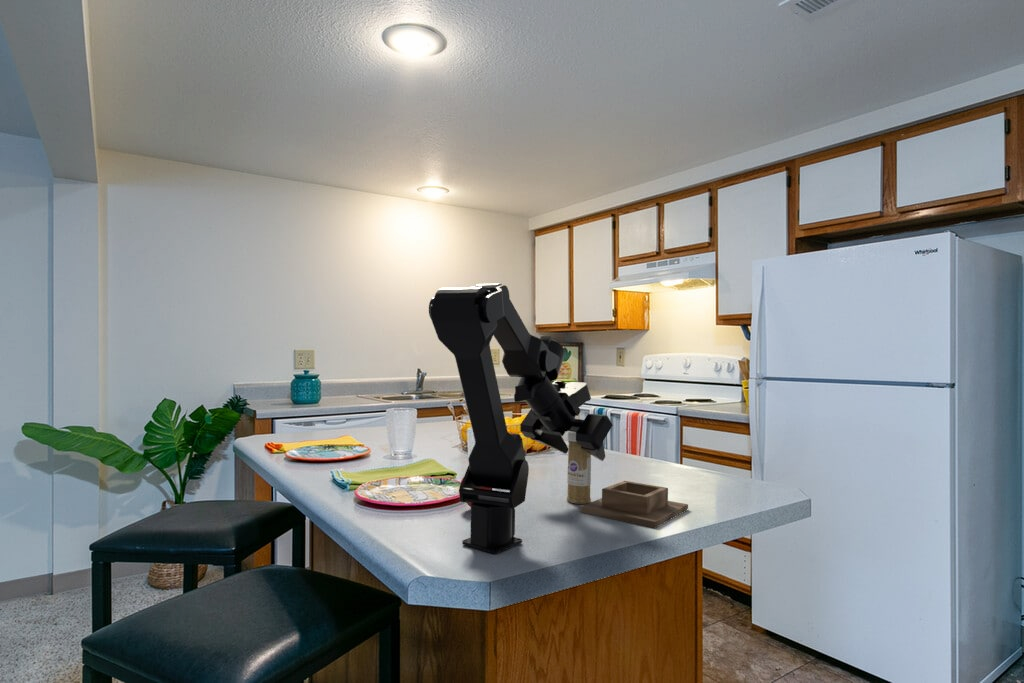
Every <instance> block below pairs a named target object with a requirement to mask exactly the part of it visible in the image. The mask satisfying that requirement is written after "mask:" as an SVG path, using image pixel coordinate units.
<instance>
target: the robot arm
mask: <svg viewBox="0 0 1024 683" xmlns="http://www.w3.org/2000/svg"><path fill="white" fill-rule="evenodd" d="M508 288H509V287H508V286H507V285H503V284H502V283H477V284H475V285H472V286H469V287H441V288H439V289H438V290H436V292H435V294H434V296H432V298H431V299H430V301H429V304H428V315H429V318H430V320H431V323H432V325H433V328H434V330H435V334H436V336H437V339H438V340H439V342H440V343H442V345H444V347H445V348H446V349H448V350H449V352H450V353H451V354H453V356H454V359H455V363H456V367H457V370H458V371H457V372H458V375H459V379H460V385H461V389H462V394H463V396H464V400H465V406H466V409H467V414H468V418H469V421H470V425H471V430H472V433H473V438H474V445H473V448H472V450H471V452H470V454H469V456H468V459H467V460H468V461H467V462H468V466H467V468H466V471H465V473H464V476H463V477H464V478H463V477H462V479H463V481H462V483H461V482H460V483H461V486H460V485H459V487H458V488H459V489H458V495H459V500H460V502H461V503H466V502H470V503H472V504H471V507H470V537H468V538H465V539H463V540H462V545H463V546H466V547H471V548H474V549H477V550H481V551H484V552H488V553H492V554H498V553H501V552H503V551H505V550H507V549H510V548H513V547H515V546H518V545H520V544H522V543H523V539H522V538H520V537H516V536H515V535H516V508H517V507H518V506H520V505H521V504H523V503H525V501H526V495H527V487H528V486H527V485H528V480H529V472H530V471H529V468H530V467H529V462H528V460H526V456H527V455H526V454H527V453H526V452H525V449H524V448H525V447H524V443H523V438H522V436H521V435H520V433H521V434H522V435H523V436H524V437H525V438H528V439H530V440H532V441H535V442H538V443H540V444H542V445H545V446H547V447H548V448H549V447H550V448H551V449H553V450H555V451H558V452H561V453H563V454H565V455H566V454H568V450H569V449H568V448H569V446H568V445H567V444H566V442H565V440H564V438H563V436H564V435H565V433H568V431H572V432H576V441H577V443H578V444H579V445H581V446H582V447H581V449H583V450H584V451H586V452H588V453H589V454H591V456H592V457H594V458H595V459H597V460H599V461H601V462H604V460H605V458H606V452H605V446H604V441H605V439H606V437H607V436H608V434H609V432H610V431H611V429H612V427H613V426H614V424H613V422H612V421H611V419H610V417H609V416H608V414H607V415H605V414H600V413H599V414H598V413H587V415H586V417H585V418H584V419H580V418H579V419H578V418H576V416H579V415H580V413H581V412H582V410H581V409H580V407H582V406H583V405H584V404H585V403H587V402H590V401H591V399H592V397H591V393H590V389H589V387H588V384H587V383H586V382H582V381H581V382H580V381H570V382H567V381H565V382H564V381H562V380H557V379H558V376H559V374H560V371H561V369H562V368H561V367H562V365H563V362H564V358H565V356H566V350H565V349H566V348H564V347H563V346H562V344H560V343H559V342H558V341H555V340H554V339H552V338H553V337H552V336H551V335H541V336H540V337H538V336H535V335H533V334H531V333H530V332H529V331H528V329H527V327H526V325H525V323H524V321H523V320H522V317H520V315H519V313H518V311H517V309H516V308H515V305H514V304H513V302H512V301H511V299H510V290H509V289H508ZM493 337H494V339H495V340H496V342H497V343H498V345H499V346H500V348H501V349H502V351H503V356H502V361H501V362H502V365H503V368H504V370H505V371H506V373H507V375H508V376H509V377H510V378H520V379H519V381H518V383H517V385H515V387H514V389H515V390H514V391H515V392H514V395H513V399H514V402H515V403H520V402H524V401H525V403H526V405H528V406H529V409H530V410H529V411H528V413H527V414H526V415H525V417H524V419H523V420H522V421H521V423H520V424H519V425H520V427H519V428H520V430H519V431H520V433H510V432H509V431H508V428H507V423H506V419H505V414H504V408H503V404H502V399H501V394H500V389H499V384H498V379H497V375H496V371H495V370H496V369H495V365H494V361H493V360H494V359H493V356H492V351H491V346H490V344H491V341H492V338H493ZM552 381H553V382H552ZM479 487H484V488H492V490H486V489H478V488H479ZM493 489H494V490H493Z"/></svg>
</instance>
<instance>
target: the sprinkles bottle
mask: <svg viewBox="0 0 1024 683" xmlns="http://www.w3.org/2000/svg"><path fill="white" fill-rule="evenodd" d="M567 441H568V452H567V454H568V455H567V456H568V457H567V458H568V460H567V475H566V476H567V479H566V480H567V481H566V482H567V497H566V501H567V502H569V503H572V504H575V505H586V504H588V503H591V502H592V501H591V485H592V483H591V482H592V479H591V478H592V455H591V454H589V453H588V452H586V451H584V450H583V449H581V447H582V446H581V445H579V444H578V443H577V441H576V432H572V431H567Z"/></svg>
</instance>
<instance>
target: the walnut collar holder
mask: <svg viewBox="0 0 1024 683" xmlns="http://www.w3.org/2000/svg"><path fill="white" fill-rule="evenodd" d="M687 509H688V510H689V504H688V503H683V502H677V501H671V500H669V487H665V486H658V485H652V484H646V483H640V482H634V481H628V480H623V481H619V482H617V483H615V484H612V485H608V486H607V487H604V488H602V489H601V498H597V499H596V500H593V501H590V502H589V503H586V504H582V505H580V512H581V513H584V514H588V515H594V516H597V517H602V518H606V519H611V520H616V521H621V522H624V521H625V522H626V523H629V522H630V524H635V525H638V524H639V526H644V527H648V528H652V527H654V528H653V529H656V528H658V527H659V525H660V526H661V524H662V525H664V524H665V523H666V521H667V522H669V521H671V520H672V519H674V518H676V517H678V516H680V515H681V514H680V513H682V512H683V513H685V512H687V511H688V510H687ZM686 510H687V511H686ZM684 511H685V512H684ZM683 513H682V514H683ZM679 514H680V515H679ZM677 515H678V516H677ZM675 516H676V517H675ZM673 517H674V518H673ZM671 518H672V519H671ZM670 519H671V520H670ZM668 520H669V521H668ZM664 522H665V523H664ZM657 526H658V527H657ZM655 527H656V528H655Z"/></svg>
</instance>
